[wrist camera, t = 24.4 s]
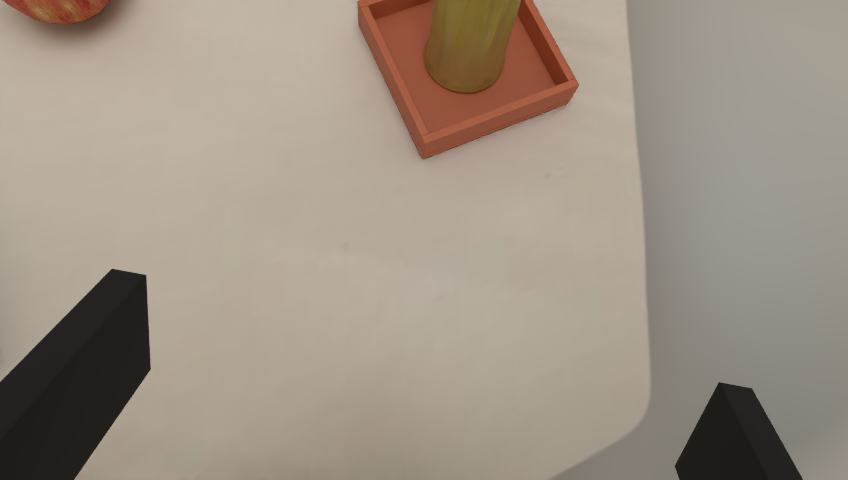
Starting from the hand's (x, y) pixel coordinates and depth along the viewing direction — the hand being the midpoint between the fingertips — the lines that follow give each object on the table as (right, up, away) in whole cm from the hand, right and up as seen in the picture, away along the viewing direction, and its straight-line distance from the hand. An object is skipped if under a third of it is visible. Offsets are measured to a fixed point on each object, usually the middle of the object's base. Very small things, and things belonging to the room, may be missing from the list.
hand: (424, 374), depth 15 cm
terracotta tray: (+3, +17, +34) cm, 38 cm away
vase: (+3, +17, +33) cm, 37 cm away
